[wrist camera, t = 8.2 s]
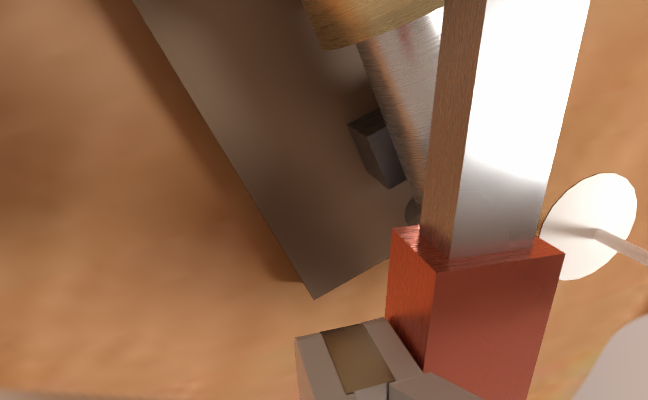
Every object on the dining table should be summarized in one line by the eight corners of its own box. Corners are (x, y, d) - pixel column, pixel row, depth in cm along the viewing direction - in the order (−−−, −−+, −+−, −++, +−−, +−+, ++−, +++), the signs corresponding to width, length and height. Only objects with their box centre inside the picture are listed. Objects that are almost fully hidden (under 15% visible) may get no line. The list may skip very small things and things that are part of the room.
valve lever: (375, -326, 6) (640, -901, 2) (523, -288, 6) (911, -695, 3) (346, 391, 11) (411, 556, 8) (428, 373, 12) (524, 517, 8)
